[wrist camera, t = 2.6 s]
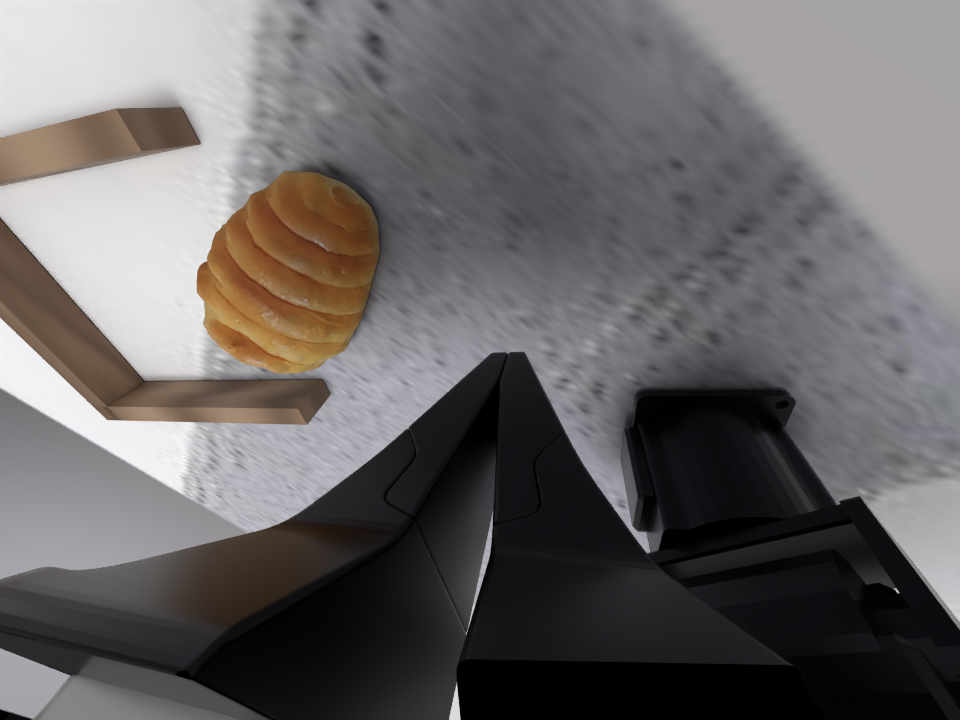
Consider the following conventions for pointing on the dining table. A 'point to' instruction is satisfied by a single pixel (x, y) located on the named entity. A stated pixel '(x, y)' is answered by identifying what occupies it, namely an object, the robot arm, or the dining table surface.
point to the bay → (66, 329)
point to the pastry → (290, 273)
